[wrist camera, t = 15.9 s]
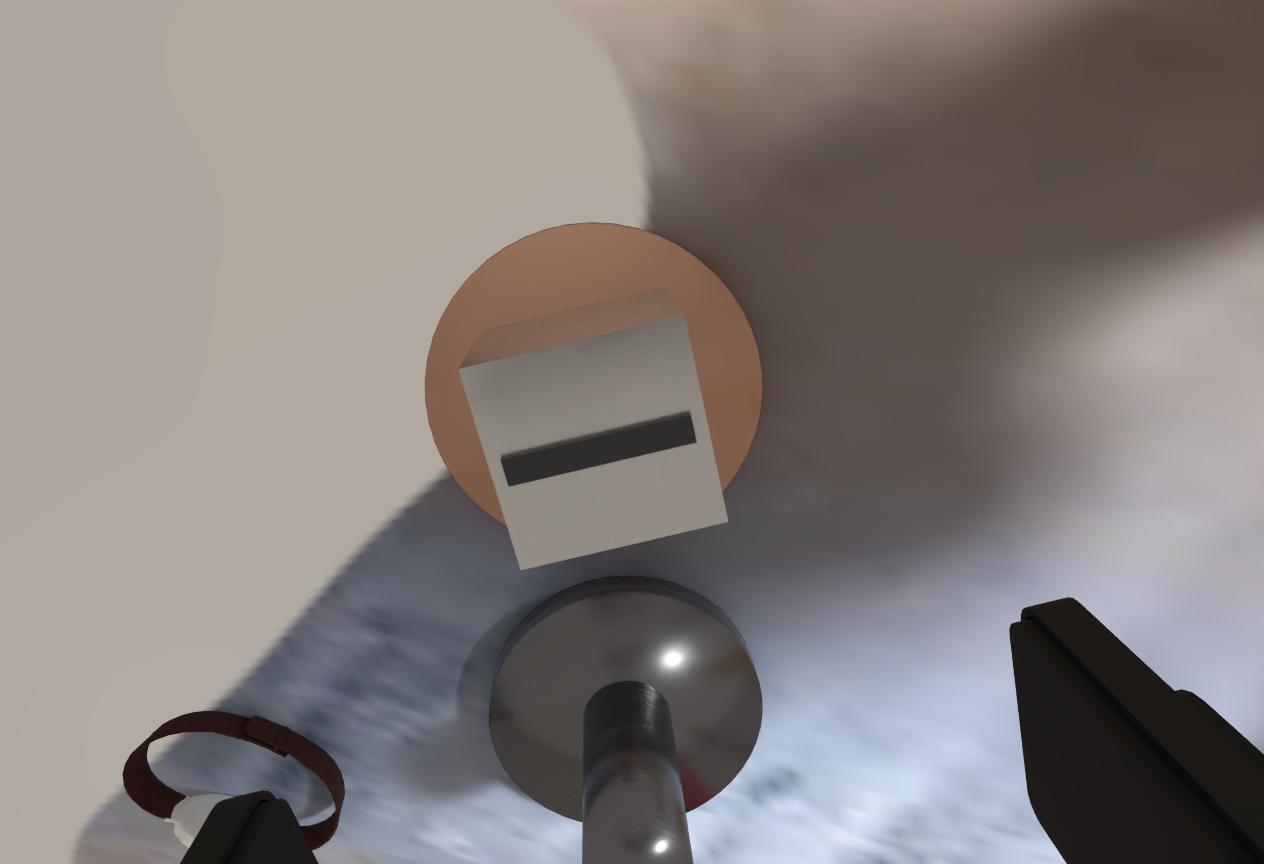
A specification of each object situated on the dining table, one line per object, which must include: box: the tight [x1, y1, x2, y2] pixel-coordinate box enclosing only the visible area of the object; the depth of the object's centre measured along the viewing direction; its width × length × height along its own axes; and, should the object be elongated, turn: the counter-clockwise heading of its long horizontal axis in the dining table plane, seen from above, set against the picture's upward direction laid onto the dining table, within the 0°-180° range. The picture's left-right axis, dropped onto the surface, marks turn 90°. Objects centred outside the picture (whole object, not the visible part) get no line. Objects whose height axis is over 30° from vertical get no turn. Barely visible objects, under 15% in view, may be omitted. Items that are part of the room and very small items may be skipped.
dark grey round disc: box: [489, 576, 762, 864], centre depth 27 cm, size 10×10×8 cm
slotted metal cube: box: [458, 286, 728, 570], centre depth 24 cm, size 6×6×5 cm
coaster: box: [425, 222, 762, 548], centre depth 27 cm, size 11×11×1 cm
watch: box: [123, 711, 345, 850], centre depth 30 cm, size 8×5×4 cm, turn 65°
